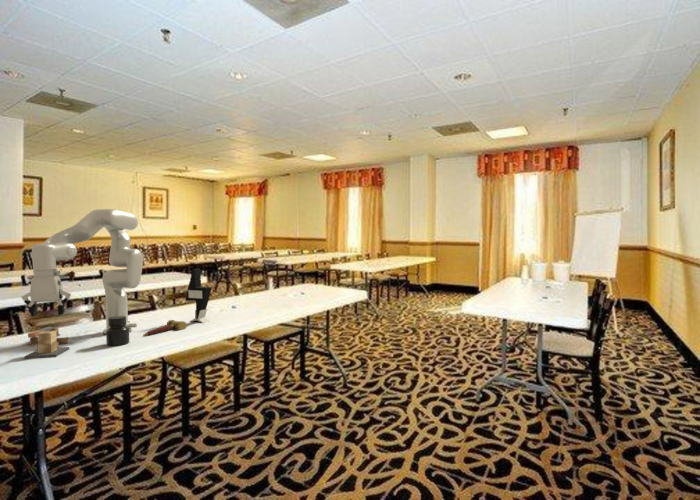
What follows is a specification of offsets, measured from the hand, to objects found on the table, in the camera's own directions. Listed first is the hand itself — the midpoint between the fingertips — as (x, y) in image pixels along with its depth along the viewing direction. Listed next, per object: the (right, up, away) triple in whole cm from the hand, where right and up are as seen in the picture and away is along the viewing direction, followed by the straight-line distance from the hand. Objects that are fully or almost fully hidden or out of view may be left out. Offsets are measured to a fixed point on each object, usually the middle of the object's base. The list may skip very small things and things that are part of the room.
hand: (47, 315), depth 161 cm
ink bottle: (+20, -16, +14) cm, 30 cm away
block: (0, -15, 0) cm, 15 cm away
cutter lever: (-19, -12, +20) cm, 30 cm away
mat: (0, -16, 0) cm, 16 cm away
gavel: (+30, -15, +36) cm, 50 cm away
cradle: (-7, -16, +12) cm, 21 cm away
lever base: (-19, -16, +22) cm, 33 cm away
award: (+39, -14, +60) cm, 73 cm away
